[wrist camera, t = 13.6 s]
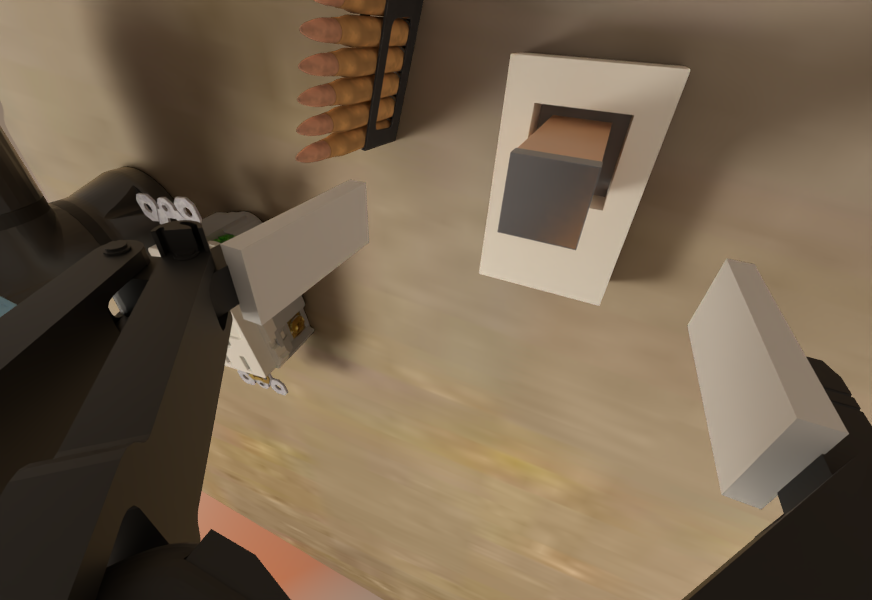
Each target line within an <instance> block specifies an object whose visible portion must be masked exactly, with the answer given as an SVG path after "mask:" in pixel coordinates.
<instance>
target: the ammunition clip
mask: <svg viewBox="0 0 872 600" xmlns="http://www.w3.org/2000/svg"><path fill="white" fill-rule="evenodd" d="M314 1H316V2H318V3H321V4H324V5H328V6H334V7H336V8H341V9H344V10H346V11H348V12H350V13H356V14H360V15H343V16H340V17H331V18H316V19H312V20H310V21H307V22H305V23H304V24H302V25H301V26H300V28H299V30H300V32H301V33H302V34H303V35H305V36H306V37H308V38H310V39H312V40H315V41H319V42H325V43H334V44H342V45H345V46H349V47H352V48H341V49H339V50H336V51H332V52H327V53H319V54H315V55H312V56H309V57H307V58H305V59H304V60H302V61H301V62H300V63H299V65H298V68H299V69H300V70H302V71H303V72H305V73H308V74H311V75H316V76H342V77H345V78H340V79H336V80H334V81H333V82H331V83H326V84H324V85H319V86H315V87H312V88H310V89H308V90H306V91H304V92H303V93H301V94H300V95H299V97H298V98H297V101H298V102H299V103H301V104H303V105H306V106H312V107H324V106H333V105H342V106H338V107H335V108H333V109H331V110H330V111H328V112H325V113H322V114H320V115H316V116H313V117H311V118H309V119H307V120H305V121H304V122H303V123H301V124H300V125H299V126H298V128H297V129H296V132H297V133H299V134H301V135H307V136H316V135H323V134H326V133H332V132H335V133H332V134H330V135H329V136H328V137H326V138H324V139H322V140H319V141H318V142H315V143H312V144H310V145H308V146H307V147H305V148H304V149H302V150H301V151H300V152H299V153H298V154H297V156H296V158H295V159H296V161H299V162H315V161H320V160H323V159H327V158H331V157H336V156H343V155H345V154H348V153H351V152H353V151H356V150H358V149H361V148H362V150H364V151H366V150H369V149H372V148H375V147H378V146H381V145H384V144H387V143H390V142H393V141H395V139H396V134H397V129H398V124H399V119H400V114H401V109H402V104H403V99H404V94H405V89H406V84H407V79H408V74H409V69H410V64H411V59H412V54H413V49H414V45H415V40H416V35H417V30H418V25H419V20H420V15H421V10H422V5H423V0H314ZM370 15H375V16H384V17H374V16H370Z"/></svg>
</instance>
